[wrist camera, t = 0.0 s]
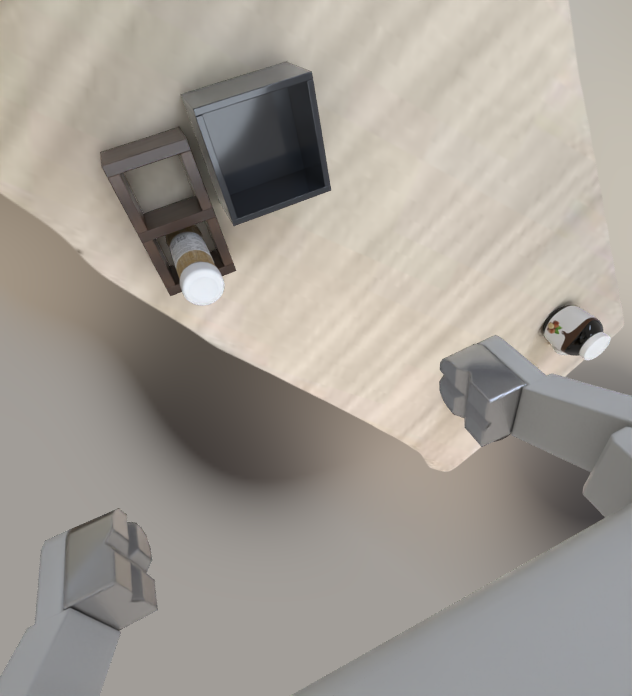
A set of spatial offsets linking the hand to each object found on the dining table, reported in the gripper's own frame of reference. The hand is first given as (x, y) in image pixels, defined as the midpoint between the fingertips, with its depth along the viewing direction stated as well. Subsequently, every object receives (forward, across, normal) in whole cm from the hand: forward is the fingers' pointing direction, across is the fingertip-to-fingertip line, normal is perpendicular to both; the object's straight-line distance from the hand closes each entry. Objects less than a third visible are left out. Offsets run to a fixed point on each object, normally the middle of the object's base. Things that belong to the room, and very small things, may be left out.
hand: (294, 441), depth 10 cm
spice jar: (+48, +2, +17) cm, 51 cm away
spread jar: (+48, -71, +69) cm, 110 cm away
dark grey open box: (+48, -10, +8) cm, 50 cm away
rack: (+48, +2, +13) cm, 50 cm away
